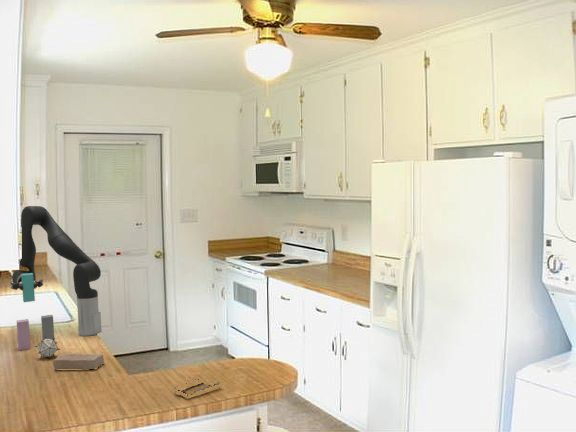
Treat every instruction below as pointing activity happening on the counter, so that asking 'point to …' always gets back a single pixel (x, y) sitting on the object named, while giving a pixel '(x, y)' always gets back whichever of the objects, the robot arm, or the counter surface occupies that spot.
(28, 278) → the teal block
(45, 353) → the game die
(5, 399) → the counter surface
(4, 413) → the counter surface
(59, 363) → the brick
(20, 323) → the plum block
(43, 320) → the charcoal block
